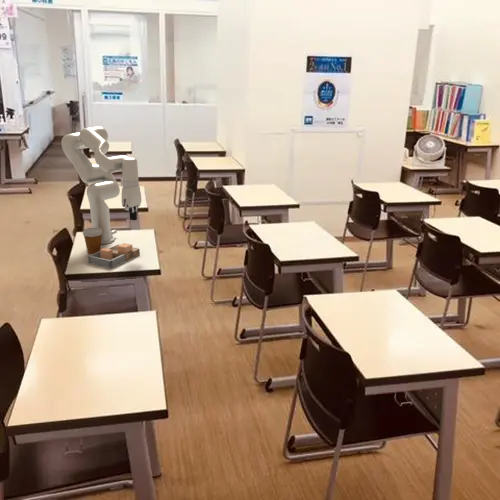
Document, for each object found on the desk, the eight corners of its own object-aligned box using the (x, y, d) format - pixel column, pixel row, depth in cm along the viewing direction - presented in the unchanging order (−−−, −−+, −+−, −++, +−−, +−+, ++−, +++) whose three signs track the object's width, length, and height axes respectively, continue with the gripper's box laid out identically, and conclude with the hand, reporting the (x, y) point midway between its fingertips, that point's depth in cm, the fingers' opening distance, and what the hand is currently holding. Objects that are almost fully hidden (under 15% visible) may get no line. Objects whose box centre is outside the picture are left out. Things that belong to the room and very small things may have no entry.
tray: (102, 256, 267) (102, 249, 266) (125, 261, 261) (124, 254, 260) (88, 262, 259) (87, 256, 258) (111, 268, 253) (110, 261, 252)
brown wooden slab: (118, 249, 277) (118, 244, 276) (139, 254, 271) (139, 248, 270) (104, 256, 267) (103, 250, 266) (125, 261, 262) (125, 255, 261)
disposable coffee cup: (98, 256, 267) (96, 233, 263) (81, 255, 269) (78, 232, 265) (107, 250, 276) (105, 227, 272) (90, 248, 278) (88, 226, 274)
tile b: (124, 248, 270) (124, 243, 269) (132, 250, 267) (132, 244, 266) (117, 251, 265) (117, 245, 264) (125, 253, 263) (125, 247, 262)
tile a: (103, 247, 263) (99, 249, 261) (112, 249, 261) (107, 251, 259) (104, 257, 265) (100, 259, 262) (112, 259, 263) (108, 261, 260)
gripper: (134, 179, 270) (137, 215, 276) (114, 185, 257) (117, 222, 263) (146, 181, 267) (148, 217, 273) (126, 187, 254) (129, 224, 260)
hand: (133, 219), depth 268 cm, fingers closed
